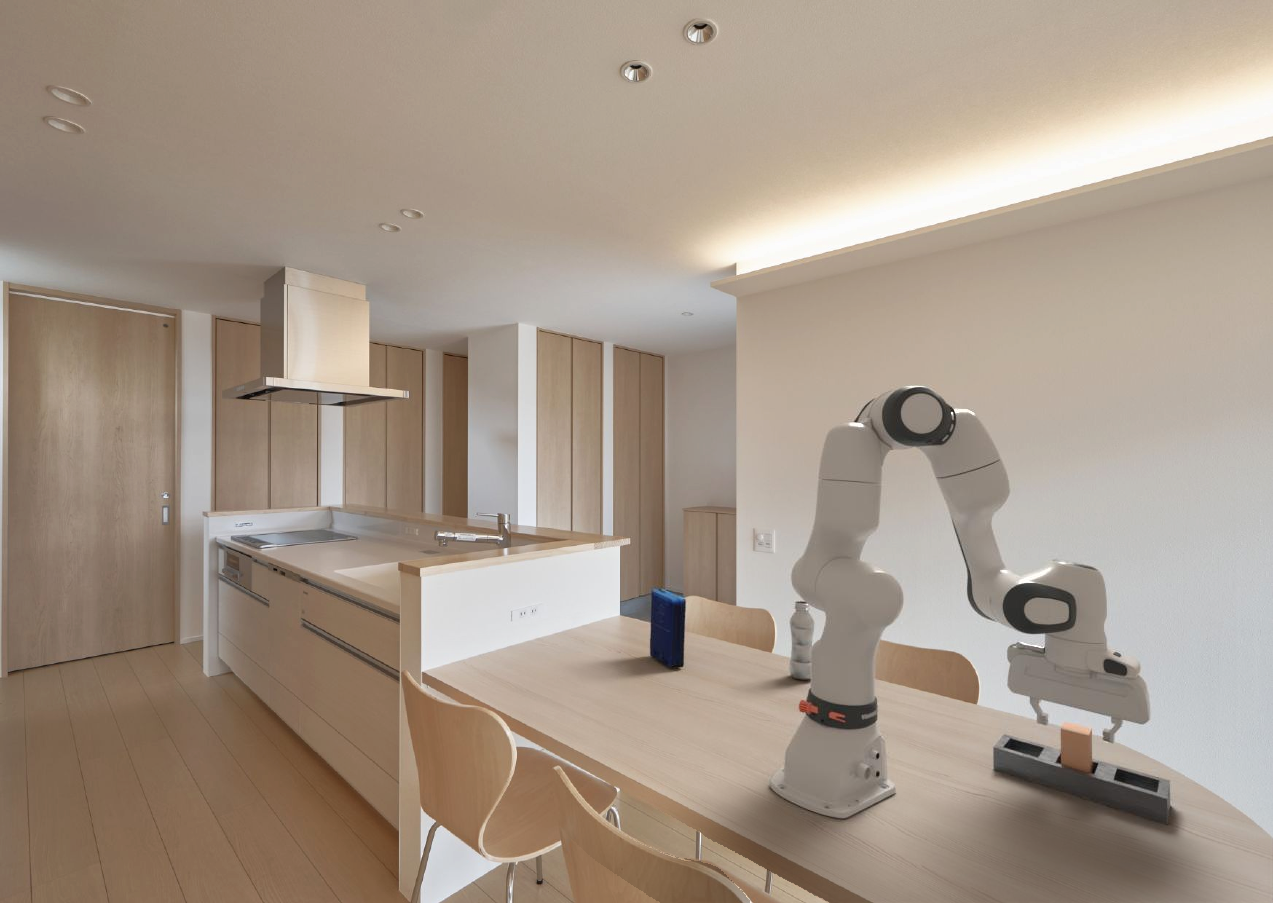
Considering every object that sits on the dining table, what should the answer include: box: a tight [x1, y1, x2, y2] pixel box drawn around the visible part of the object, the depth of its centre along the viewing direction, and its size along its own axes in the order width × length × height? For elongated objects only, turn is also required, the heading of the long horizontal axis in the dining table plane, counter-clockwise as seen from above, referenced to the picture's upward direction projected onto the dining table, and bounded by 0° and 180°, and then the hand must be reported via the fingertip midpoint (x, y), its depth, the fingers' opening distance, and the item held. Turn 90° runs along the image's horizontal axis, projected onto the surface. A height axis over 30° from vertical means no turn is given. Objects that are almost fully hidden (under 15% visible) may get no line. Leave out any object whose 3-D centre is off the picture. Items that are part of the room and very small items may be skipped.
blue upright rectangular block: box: [649, 588, 687, 669], centre depth 168 cm, size 14×5×20 cm, turn 25°
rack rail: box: [992, 733, 1171, 826], centre depth 104 cm, size 8×24×4 cm, turn 46°
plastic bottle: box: [788, 600, 815, 681], centre depth 157 cm, size 6×7×20 cm
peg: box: [1060, 721, 1093, 773], centre depth 104 cm, size 4×4×10 cm
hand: (1074, 732), depth 104 cm, fingers open, 8 cm apart
